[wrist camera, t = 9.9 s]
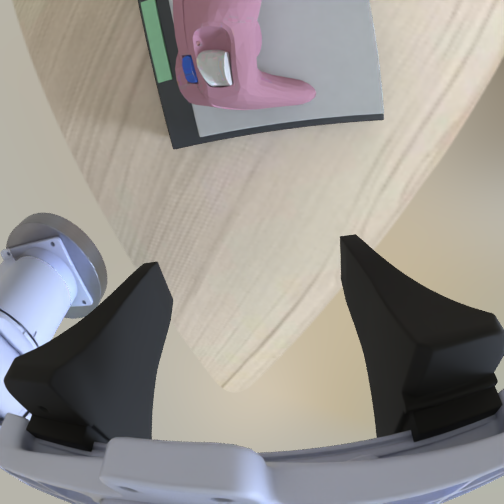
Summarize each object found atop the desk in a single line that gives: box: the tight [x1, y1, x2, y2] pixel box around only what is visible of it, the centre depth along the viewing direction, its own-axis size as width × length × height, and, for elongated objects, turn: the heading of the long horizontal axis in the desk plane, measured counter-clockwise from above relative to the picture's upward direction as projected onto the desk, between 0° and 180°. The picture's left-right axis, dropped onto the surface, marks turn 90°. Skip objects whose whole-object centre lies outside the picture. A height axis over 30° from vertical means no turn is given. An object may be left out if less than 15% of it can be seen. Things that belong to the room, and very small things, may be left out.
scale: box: [138, 0, 384, 149], centre depth 14 cm, size 12×13×3 cm
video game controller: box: [173, 0, 316, 110], centre depth 10 cm, size 10×5×7 cm
